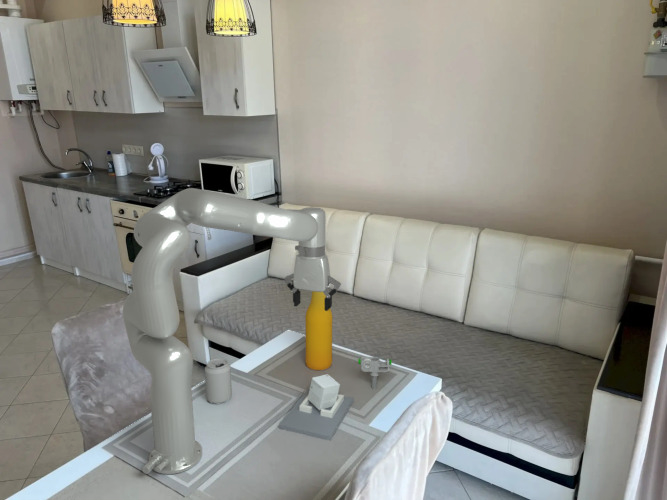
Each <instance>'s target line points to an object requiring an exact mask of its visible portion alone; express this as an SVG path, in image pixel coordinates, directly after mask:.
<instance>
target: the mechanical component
mask: <svg viewBox="0 0 667 500" xmlns="http://www.w3.org/2000/svg"><path fill="white" fill-rule="evenodd" d="M357 361H358V365H360V367H361V370H362V372H363V373H364V372H365V373H366V372H367V373H370V376H371V388H372V389H373V390H376V389H377V383H378V382H377V381H378V380H377V379H378V376H379V375H380V374H379V373H387V372H389V370H390V365H391V366H392V359H389V358H386V360H385V361H381V360H380V357H378V356H360V358H358V360H357Z"/></svg>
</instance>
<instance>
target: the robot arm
mask: <svg viewBox="0 0 667 500" xmlns="http://www.w3.org/2000/svg"><path fill="white" fill-rule="evenodd" d="M326 217H327V216H326V211H325V210H324V209H323V208H320V207H309V206H308V207H304V208H301V209H292V208H291V209H290V208H286V209H285V208H282V207H278V206H274V205H271V204H267V203H263V202H261V201H259V200H258V201H257V200H253V199H249V198H245V197H239V196H233V195H229V194H226V193H219V192H215V191H210V190H204V189H200V188H194V187H190V188H186V189H185V188H184V189H182V190H181V191H179V192H176V193H175V194H174V195H172V196H170V197H169V198H168V199H166V200H164V201H162V202H161V203H159V204H158V205H157V206H155V207H153V208H152V209H150V210H149V211H147V212H146V213H144V214H143V215H142V216H140V217H139V219H137V221H136V222H135V225H134V227H133V237H134V239H135V242H136V243H137V244H138V245H139V246H140V247H141V249H140V250H139V252H138V254H137V255H136V257H135V259H134V261H133V264H132V266H131V272H130V274H131V275H130V277H131V279H130V280H131V284H132V291H131V292H130V293H129V294H128V295H127V297H126V298H125V300H124V302H123V306H122V317H123V322H124V325H125V330H126V335H127V338H128V343H129V346H130V351H131V353H132V356H133V358H134V359H135V360H136V361H137V362H138V363H139V364H140V365H141V366H142V367H144V369H146V370H147V371H148V373H150V376H151V383H150V388H149V403H150V410H151V412H150V413H151V420H152V422H151V423H152V432H153V443H154V449H153V450H152V451H151V452H150V454H149V457H148V462H146V463H145V464H144V465H143V466H142V467H141V470H142V472H143V473H144V474H146V475H147V474H149V473H150V472H151V471H152V470H153V471H154V472H156V473H159V474H162V475H174V474H175V475H176V474H180V473H183V472H186V471H187V470H190V469H192V468H193V467H194V466H196V465H197V464H198V463H199V462H200V460H201V459H202V457H203V447H202V445H201V443H199V442H198V440H196V435H195V434H196V433H195V419H194V404H193V393H192V392H193V390H192V376H193V367H194V356H193V354H192V352H191V350H190V348H189V347H188V346H187V345H186V344H185V343H184V342H183V341H181V340H180V339H178V338H177V337H176V336H174V334H175V333H176V332H177V331H178V328H179V327H180V322H181V321H180V319H181V318H180V311H179V307H178V302H177V301H178V300H177V297H176V293H175V287H174V281H173V280H174V279H173V273H174V269H175V266H176V265H177V263H178V261H179V260H180V259H181V258H182V256H184V254H185V253H186V251H187V250H188V249H189V246H190V243H191V233H190V230H189V228H188V227H187V226H189V225H190V224H193V225H196V226H199V227H203V228H209V229H217V230H221V231H222V230H223V231H228V232H229V231H230V232H235V233H241V234H249V235H253V236H261V237H269V238H276V239H281V240H286V241H287V240H289V241H295V242H298V245H294V251H298V254H296V256H295V259H294V268H293V273H292V274H289V275H286V276H285V277H284V278H283V279H284V281H285V282H286V285H287V287H288V288H289V290H290V291H291V294H292V303H293V307H298V306H299V305H300V304H301V291H309V292H312V291H315V292H323V293H324V294H325V296H326V298H325V311H328V310H329V309H331V307H332V306H333V296H334V295H335V294H336V293H337V292H338V290H339V289H340V288H341V286H342V283H341V282H340V281H339V280H338V279H337V280H336V279H335V278H333V277H332V276H331V273H330V272H331V271H330V261H329V256H328V255H326V224H327V223H326V221H327V220H326ZM292 280H293V281H292ZM331 285H333V289H331V287H330V286H331Z"/></svg>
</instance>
